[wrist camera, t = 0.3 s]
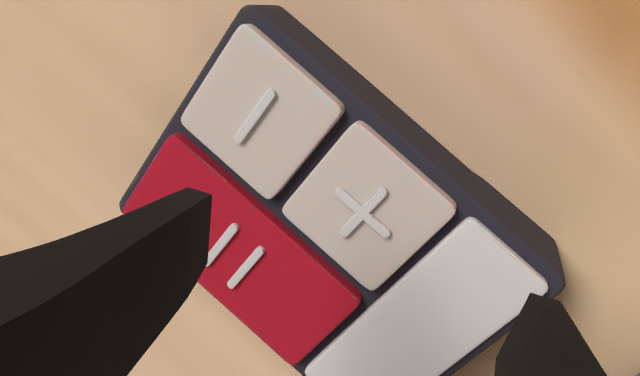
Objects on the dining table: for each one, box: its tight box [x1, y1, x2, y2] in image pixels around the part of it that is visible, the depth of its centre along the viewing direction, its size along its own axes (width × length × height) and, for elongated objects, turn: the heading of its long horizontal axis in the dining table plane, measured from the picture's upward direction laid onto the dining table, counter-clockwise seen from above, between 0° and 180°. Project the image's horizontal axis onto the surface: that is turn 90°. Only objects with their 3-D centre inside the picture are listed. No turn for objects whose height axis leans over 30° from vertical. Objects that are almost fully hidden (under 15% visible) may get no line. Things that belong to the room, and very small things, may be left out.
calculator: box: [120, 5, 565, 376], centre depth 22 cm, size 11×4×15 cm
